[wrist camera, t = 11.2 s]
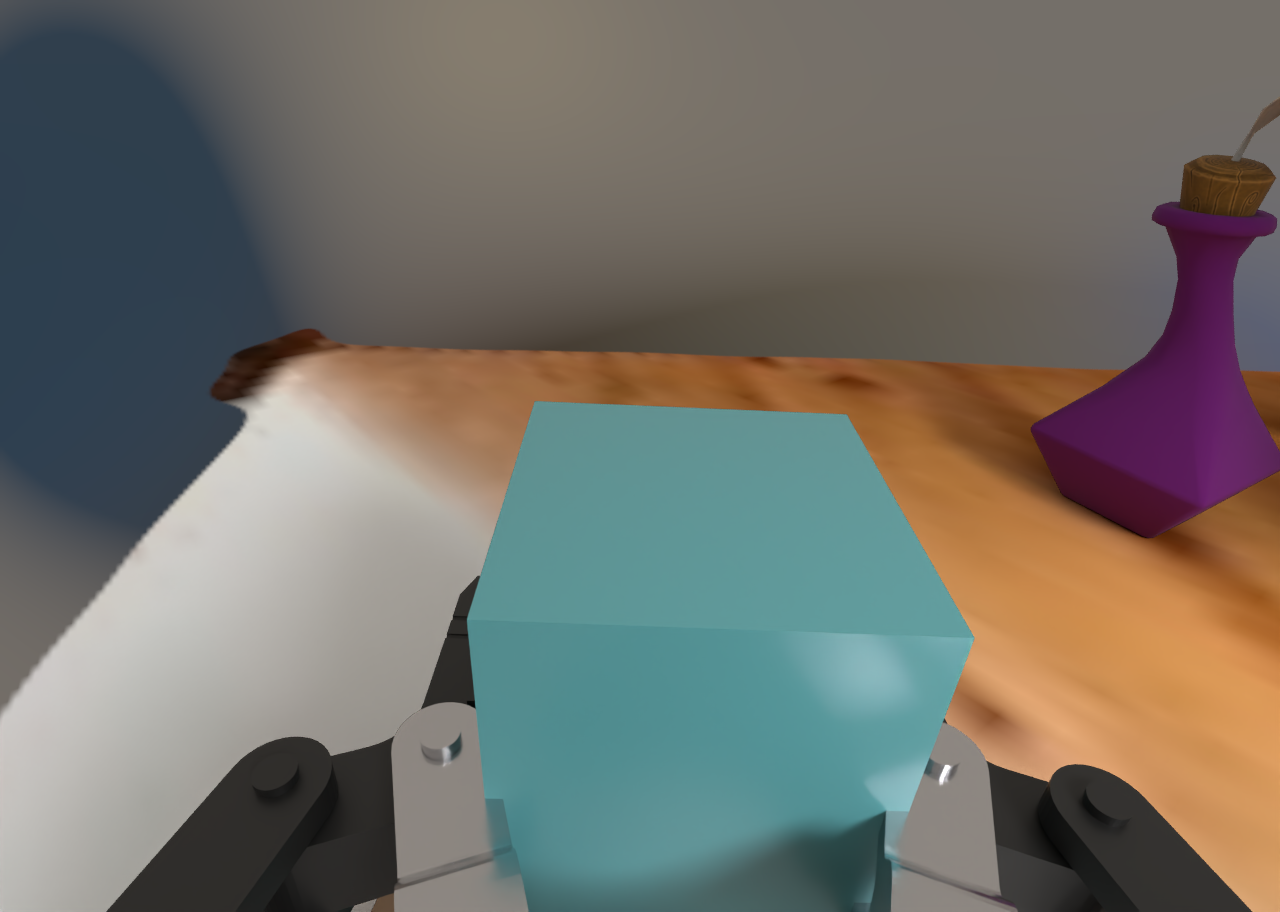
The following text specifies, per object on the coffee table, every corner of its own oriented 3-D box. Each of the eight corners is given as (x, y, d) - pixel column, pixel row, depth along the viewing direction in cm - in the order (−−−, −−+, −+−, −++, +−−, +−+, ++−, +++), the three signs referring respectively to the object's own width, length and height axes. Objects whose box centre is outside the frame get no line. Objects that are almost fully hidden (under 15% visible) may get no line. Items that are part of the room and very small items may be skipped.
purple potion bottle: (1007, 485, 34) (1158, 67, 26) (1093, 453, 38) (1253, 73, 29) (1168, 572, 29) (1433, 77, 20) (1252, 525, 32) (1510, 84, 23)
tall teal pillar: (763, 803, 16) (846, 414, 11) (808, 1076, 12) (974, 638, 7) (546, 796, 16) (534, 400, 11) (511, 1070, 12) (467, 619, 7)
